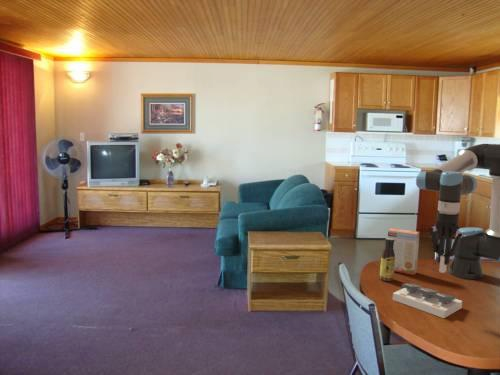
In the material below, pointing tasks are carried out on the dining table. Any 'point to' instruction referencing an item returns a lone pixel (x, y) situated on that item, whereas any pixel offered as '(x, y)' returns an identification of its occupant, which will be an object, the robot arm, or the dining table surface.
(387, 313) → the dining table surface
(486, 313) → the dining table surface
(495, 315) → the dining table surface
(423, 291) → the switch middle
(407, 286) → the switch
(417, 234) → the cracker box
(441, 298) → the switch
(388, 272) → the sauce bottle
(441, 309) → the switch panel
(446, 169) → the robot arm
